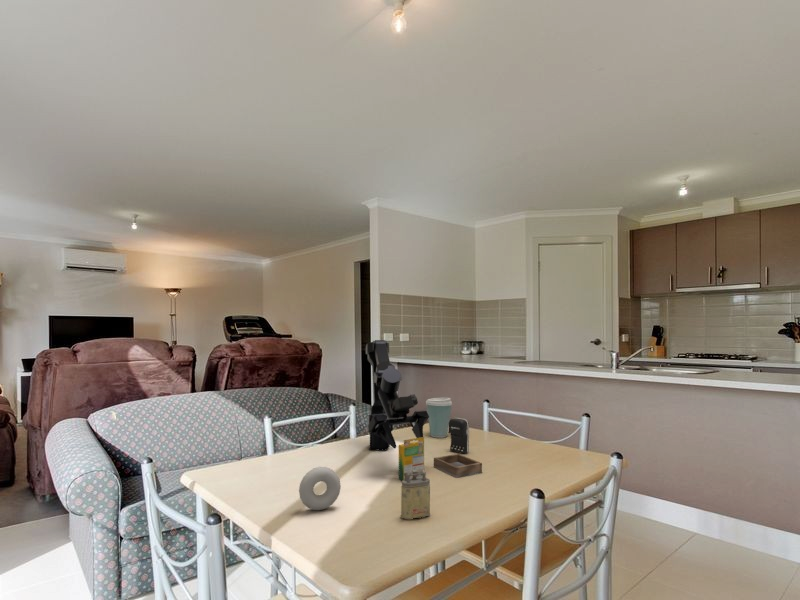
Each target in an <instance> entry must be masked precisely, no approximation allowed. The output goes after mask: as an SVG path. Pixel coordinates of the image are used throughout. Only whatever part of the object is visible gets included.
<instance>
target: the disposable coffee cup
mask: <svg viewBox="0 0 800 600" xmlns="http://www.w3.org/2000/svg"><path fill="white" fill-rule="evenodd" d="M425 404H426V411H427V412H428V415H429V418H428V420H427V421H428V427H429V428H428V429H429V434H430V438H431V437H432V438H438V439H439V438H440V439H441V438H447V435H448V433H449V421H450V420H451V419H450V418H451V411H452V405H453V402H452V399H451V397H433V398H428V399H426V401H425Z"/></svg>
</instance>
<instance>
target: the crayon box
mask: <svg viewBox="0 0 800 600" xmlns="http://www.w3.org/2000/svg"><path fill="white" fill-rule="evenodd" d="M413 470H416V471H422V472H425V436H423V437H420V438H416V437H415V438H409V439H404V440H403V444H398V480H400V481H401V482H402V481H403V480H404V478H405V476H404V473H405V472H407V473H408V472H412V471H413ZM420 477H423V476H422V475H417V477H416V478H420ZM411 478H413V476H410V479H411Z"/></svg>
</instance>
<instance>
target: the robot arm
mask: <svg viewBox="0 0 800 600" xmlns="http://www.w3.org/2000/svg"><path fill="white" fill-rule="evenodd" d="M389 354H390V343H389V342H388V341H387V340H386V339H375V340H373V341H370V342H367V343H366V345H365V355H367V362H369V363H370V365H371V369H372V370H371V371H372V372H371V373H372V375H371V377H372V392H373V393H372V394H373V395H372V396H373V397H372V398H373V403H372V405H371V408H370V411H369V414H368V415H367V422H366V430H367V433H369V447H368V450H369V451H387V450H388V449H390V447H392V449H396V448H397V443H396V440H395V438H394V436H393V433H392V431H394V425H404V424H409V425H410V427H411V431H412V432H413V434H414V436H415V438H420V437H424V426H425V424H426V423H427V421H428V418H429V415H428V412H427V410H425V409H422V410H415V411H414V412H413V414H412V415H410V416H409V415H408V414H410V413H411V411H410V409H412V408H414V407H416V406H417V405H418V404H419V401H418V398H417V396H416V394H409V395H407V396H399V394H398V391H399V389H400V386H401V381H402V372H400V371H399V369H396V366H395V365H394V364H392V363H391V361H390V356H389Z"/></svg>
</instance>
